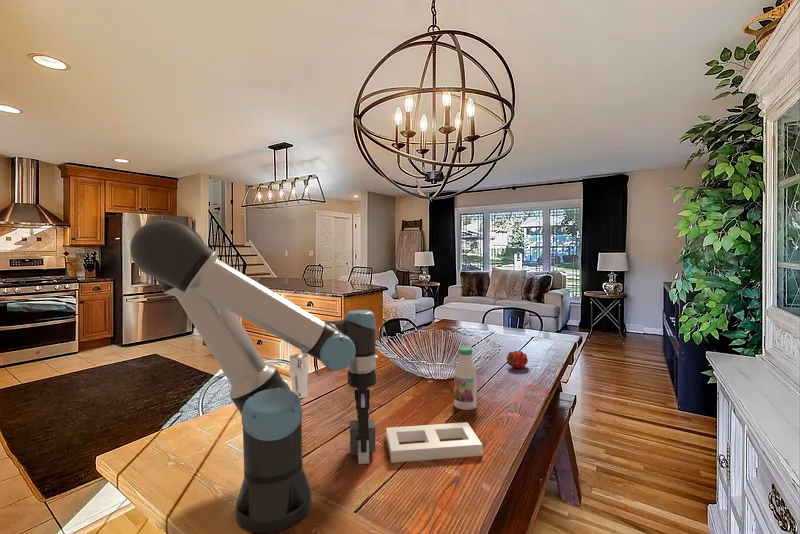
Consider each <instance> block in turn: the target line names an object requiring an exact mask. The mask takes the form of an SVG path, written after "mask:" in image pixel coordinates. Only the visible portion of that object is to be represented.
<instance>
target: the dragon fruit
mask: <svg viewBox="0 0 800 534" xmlns="http://www.w3.org/2000/svg"><path fill="white" fill-rule="evenodd" d="M506 361H507V362H506V364H507V365H508V366H509V367H511V368H512V369H513V370H515V369H516V368H518V369H521V370H523V369H525V367H526V365H528V362H529V360H528V356H527V354H526V353H524V352H523V351H521V350H519V351H518V350H515V351H510V352H508V354H507V356H506Z"/></svg>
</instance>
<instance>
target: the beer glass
mask: <svg viewBox="0 0 800 534" xmlns="http://www.w3.org/2000/svg"><path fill="white" fill-rule="evenodd" d="M308 355H309V354H304V353H297V354H296V353H295V354H292V355H290V356H289V362H288V366H289V377H290V382H291V391H292V392H294V393H295V394H297V395H298V397H299V398H300V400H301V398H302V399H305V398H307V397H309V392H308V387H307V386H308V379H309V378H308V377H309V368H310V366H309V364H310V363H309V356H308Z"/></svg>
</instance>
